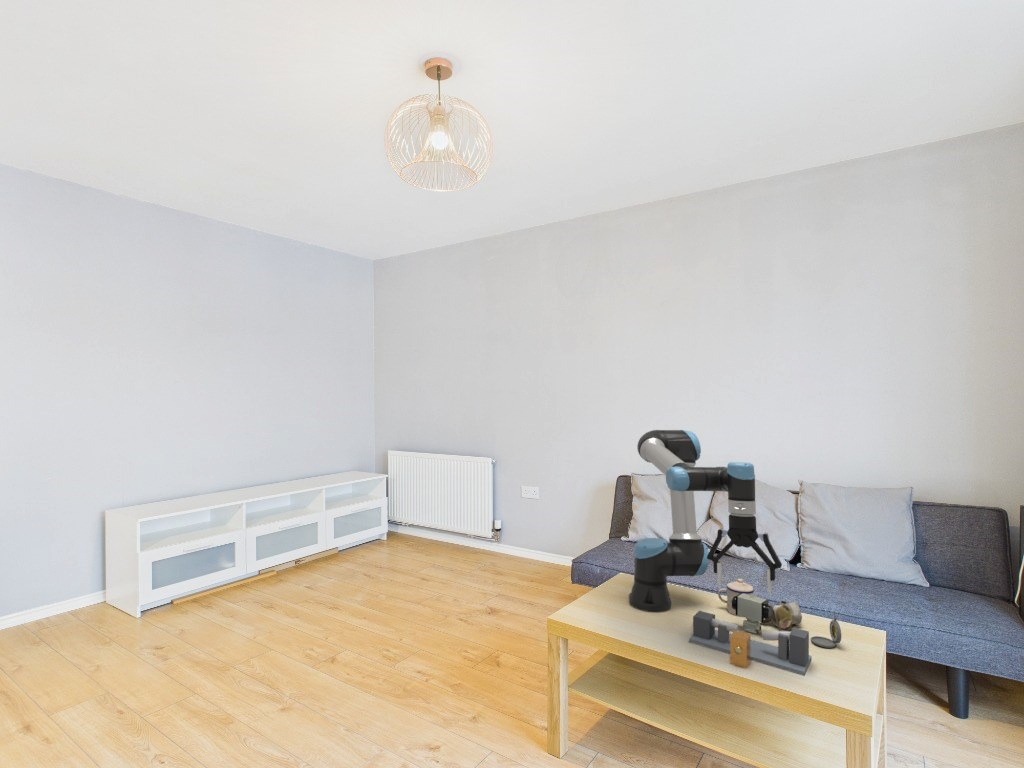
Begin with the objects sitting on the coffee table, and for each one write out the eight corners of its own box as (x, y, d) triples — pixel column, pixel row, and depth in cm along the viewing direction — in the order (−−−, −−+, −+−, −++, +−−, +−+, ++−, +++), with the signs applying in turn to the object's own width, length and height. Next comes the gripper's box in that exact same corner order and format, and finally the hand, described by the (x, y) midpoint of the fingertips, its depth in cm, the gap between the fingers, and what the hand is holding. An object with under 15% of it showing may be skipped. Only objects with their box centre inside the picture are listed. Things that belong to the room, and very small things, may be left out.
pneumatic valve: (767, 639, 170) (768, 601, 171) (731, 627, 179) (731, 591, 179) (774, 634, 174) (774, 597, 175) (737, 623, 182) (738, 587, 183)
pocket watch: (806, 641, 170) (806, 609, 170) (824, 637, 173) (824, 605, 173) (830, 652, 162) (830, 619, 162) (849, 648, 165) (849, 615, 166)
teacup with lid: (754, 610, 194) (755, 578, 194) (752, 619, 186) (753, 585, 186) (719, 603, 200) (720, 572, 200) (716, 612, 192) (716, 579, 192)
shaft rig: (688, 641, 167) (689, 612, 168) (701, 629, 177) (701, 601, 177) (804, 675, 148) (804, 642, 148) (811, 659, 158) (811, 628, 158)
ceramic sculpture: (811, 602, 180) (781, 611, 173) (812, 628, 180) (782, 638, 173) (782, 591, 189) (753, 600, 182) (783, 616, 189) (754, 626, 182)
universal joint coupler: (745, 669, 151) (746, 640, 151) (729, 664, 153) (729, 636, 154) (750, 661, 155) (751, 633, 156) (735, 657, 158) (735, 629, 158)
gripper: (696, 512, 163) (697, 584, 161) (787, 519, 150) (790, 598, 148) (701, 509, 170) (702, 579, 167) (790, 516, 157) (792, 592, 155)
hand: (744, 588), depth 158 cm, fingers open, 13 cm apart
